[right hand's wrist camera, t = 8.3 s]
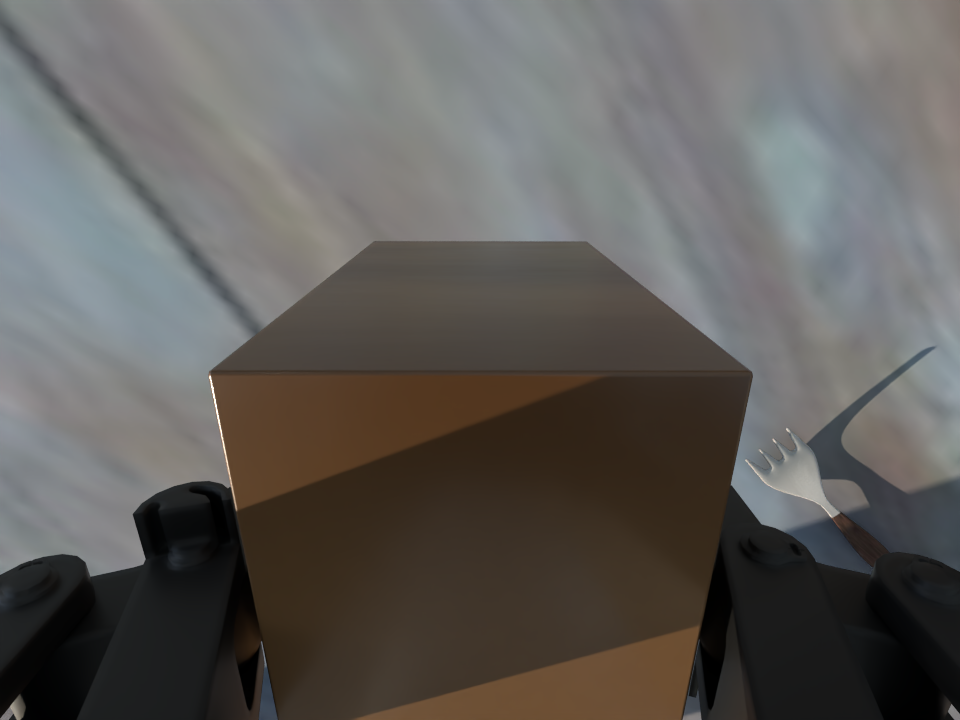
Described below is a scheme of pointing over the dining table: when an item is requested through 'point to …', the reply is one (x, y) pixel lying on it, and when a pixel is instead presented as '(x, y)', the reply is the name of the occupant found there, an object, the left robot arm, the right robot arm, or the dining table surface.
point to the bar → (480, 486)
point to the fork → (814, 492)
